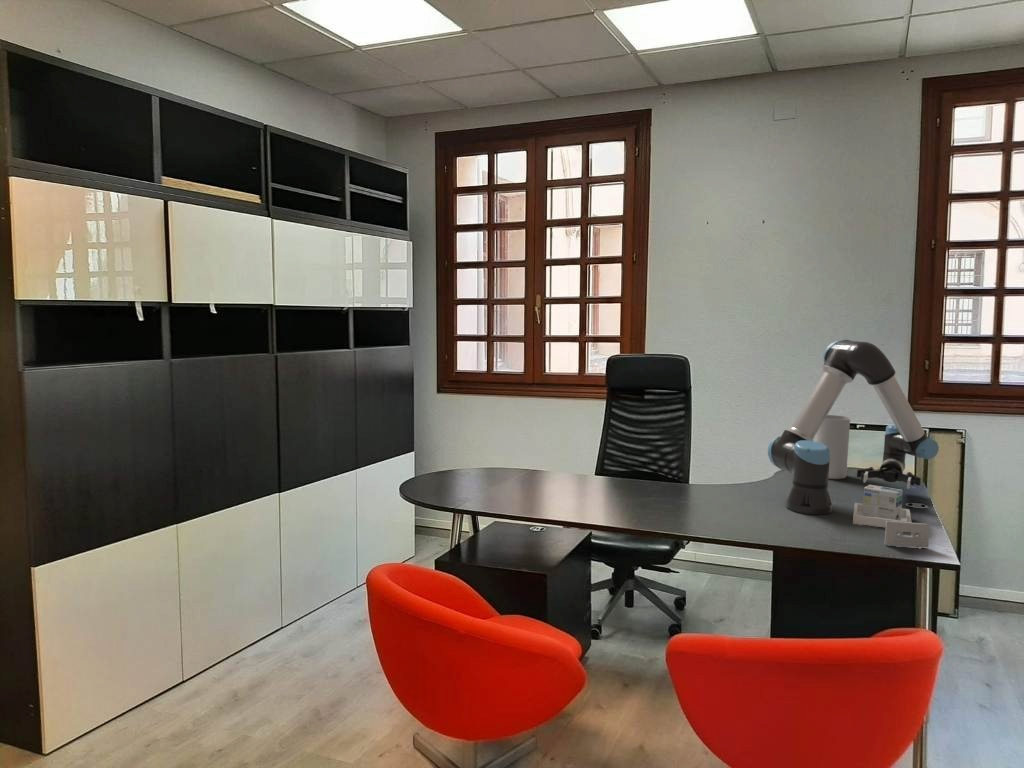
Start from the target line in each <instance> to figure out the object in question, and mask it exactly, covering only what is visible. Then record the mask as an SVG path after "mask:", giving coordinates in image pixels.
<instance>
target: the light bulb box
mask: <svg viewBox="0 0 1024 768" xmlns="http://www.w3.org/2000/svg"><path fill="white" fill-rule="evenodd" d="M862 496H863V497H862V504H863V508H862V516H868V517H876V518H884V519H892V520H901V508H902V509H903V507H902V506H903V505H902V503H903V489H898V488H893V487H887V486H881V485H875V484H868V485H866V486H864V487H863V494H862Z"/></svg>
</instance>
